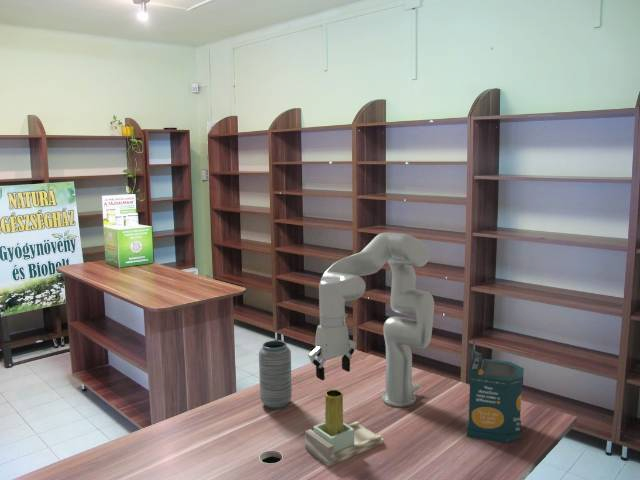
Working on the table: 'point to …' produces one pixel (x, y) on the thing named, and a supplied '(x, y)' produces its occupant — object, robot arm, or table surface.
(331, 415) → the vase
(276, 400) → the vase
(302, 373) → the table surface
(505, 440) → the donation box
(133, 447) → the table surface
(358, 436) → the cream rectangular tray
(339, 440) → the box
